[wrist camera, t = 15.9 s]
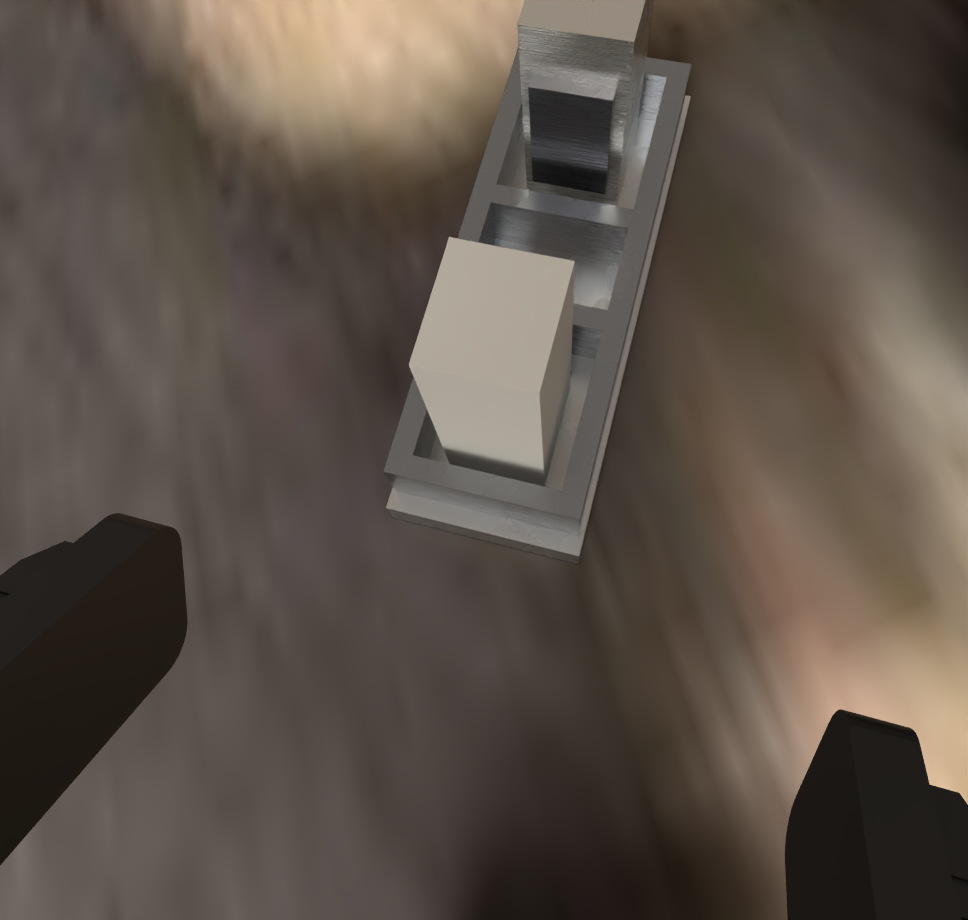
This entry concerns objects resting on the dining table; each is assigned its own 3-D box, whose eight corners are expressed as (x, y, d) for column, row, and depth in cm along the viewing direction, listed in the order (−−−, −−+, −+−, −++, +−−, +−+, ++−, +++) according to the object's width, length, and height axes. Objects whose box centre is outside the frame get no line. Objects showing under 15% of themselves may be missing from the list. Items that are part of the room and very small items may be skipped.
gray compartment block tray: (524, 94, 38) (512, -134, 28) (685, 120, 37) (733, -107, 27) (393, 517, 32) (320, 423, 22) (578, 564, 31) (587, 487, 21)
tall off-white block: (481, 355, 32) (453, 221, 24) (573, 375, 32) (579, 245, 23) (449, 464, 31) (408, 364, 23) (544, 486, 31) (539, 392, 22)
